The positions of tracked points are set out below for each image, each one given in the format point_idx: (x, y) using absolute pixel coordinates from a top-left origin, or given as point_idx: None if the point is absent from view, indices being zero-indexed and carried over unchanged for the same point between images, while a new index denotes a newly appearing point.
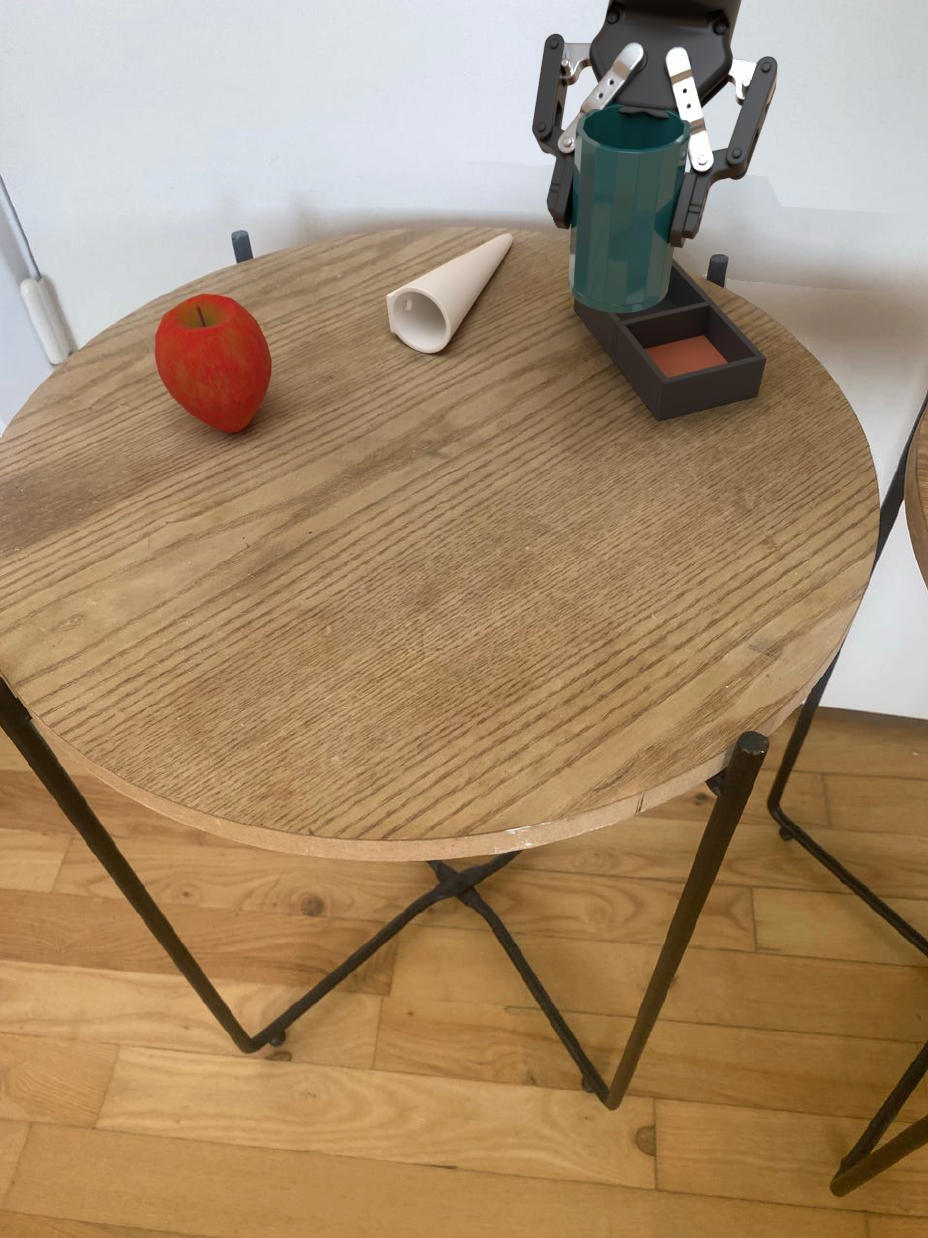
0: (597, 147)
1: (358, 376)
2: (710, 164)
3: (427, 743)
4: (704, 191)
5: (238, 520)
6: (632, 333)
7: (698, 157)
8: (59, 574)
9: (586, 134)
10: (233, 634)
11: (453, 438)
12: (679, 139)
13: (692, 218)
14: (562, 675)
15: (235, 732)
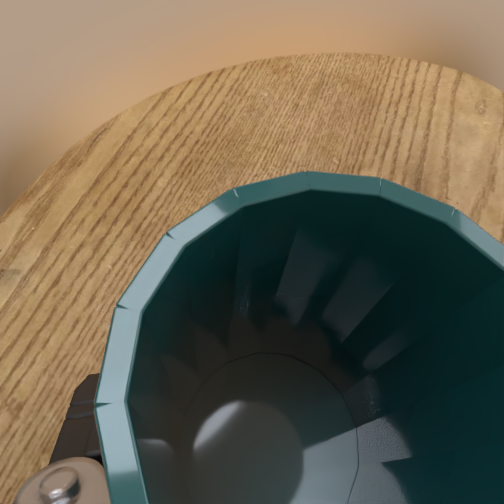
0: (377, 179)
1: None
2: (27, 485)
3: (221, 118)
4: (58, 450)
5: (477, 215)
6: None
7: (80, 494)
8: None
9: (463, 233)
10: (387, 135)
11: None
12: (125, 331)
13: (90, 390)
14: (160, 190)
15: (329, 87)
